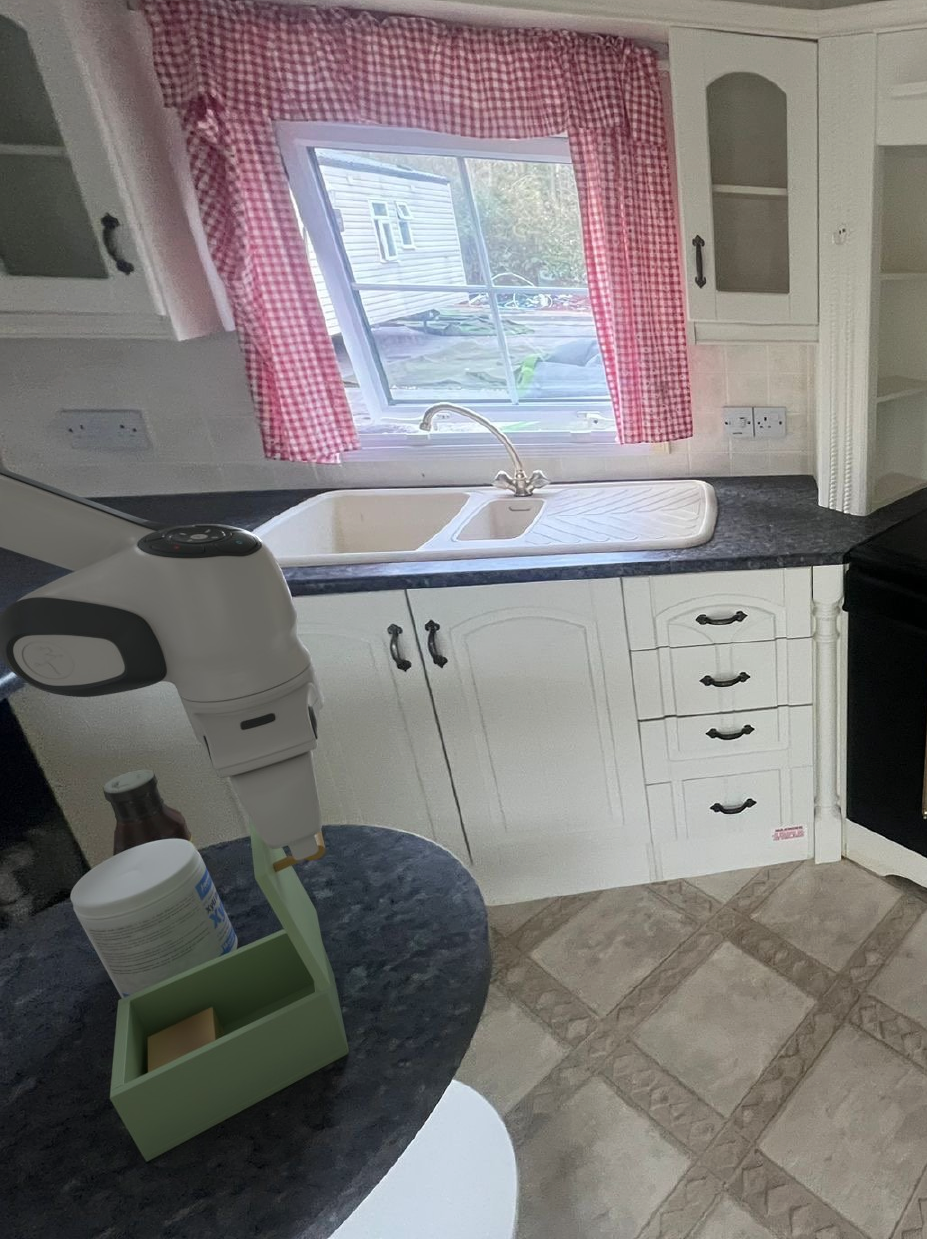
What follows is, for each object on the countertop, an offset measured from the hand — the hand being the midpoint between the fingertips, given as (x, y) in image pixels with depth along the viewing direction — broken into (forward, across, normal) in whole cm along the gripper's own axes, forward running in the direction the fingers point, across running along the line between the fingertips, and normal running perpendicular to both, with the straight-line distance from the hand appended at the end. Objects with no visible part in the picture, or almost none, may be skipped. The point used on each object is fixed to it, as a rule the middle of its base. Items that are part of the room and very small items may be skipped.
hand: (301, 824), depth 70 cm
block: (+24, -1, -13) cm, 27 cm away
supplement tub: (+24, -17, -14) cm, 33 cm away
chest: (+24, 0, -9) cm, 26 cm away
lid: (+7, 0, -3) cm, 8 cm away
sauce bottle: (+24, -27, -14) cm, 39 cm away
